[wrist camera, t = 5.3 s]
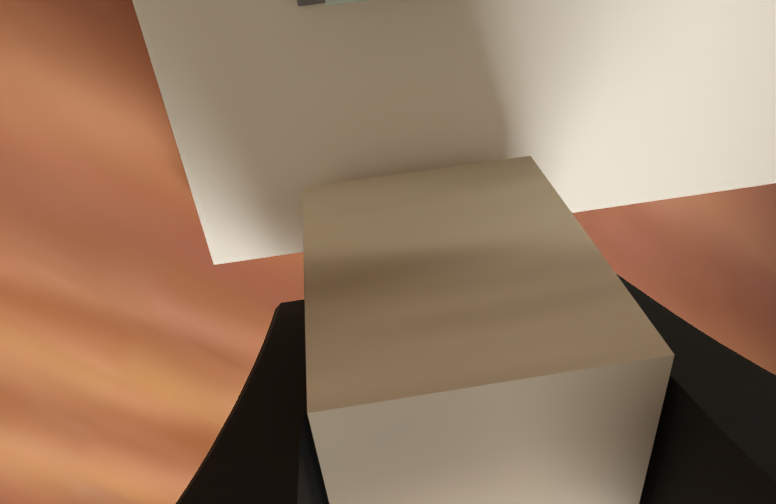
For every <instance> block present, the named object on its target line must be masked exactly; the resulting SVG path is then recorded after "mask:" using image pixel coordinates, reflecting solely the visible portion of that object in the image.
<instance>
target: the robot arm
mask: <svg viewBox="0 0 776 504" xmlns="http://www.w3.org/2000/svg"><path fill="white" fill-rule="evenodd" d="M616 275H617V274H616ZM617 276H618V277H619V279H620V280H621V281H622V283H623V284H624V286H625V287H626V288H627V290H628V291H629V293H630V294H631V295H632V297H633V298H634V299H635V301H636V302H637V304H638V305H639V306H640V308H641V309H642V310H643V312H644V313H645V315H646V316H647V317H648V319H649V320H650V322H651V323H652V324H653V326H654V327H655V328H656V330H657V331H658V333H659V334H660V335H661V337H662V338H663V340H664V341H665V342H666V344H667V345H668V346H669V348H670V349H671V351H672V352H673V353H674V359H673V364H672V368H671V372H670V376H669V380H668V385H667V389H666V393H665V397H664V401H663V406H662V410H661V414H660V418H659V422H658V426H657V431H656V435H655V439H654V443H653V447H652V452H651V456H650V460H649V464H648V468H647V473H646V477H645V481H644V485H643V489H642V494H641V498H640V502H639V504H776V375H774V374H772V373H770V372H769V371H767V370H765V369H763V368H761V367H760V366H758V365H756V364H754V363H753V362H751V361H749V360H748V359H746V358H744V357H743V356H741V355H739V354H737V353H736V352H734V351H732V350H731V349H729V348H727V347H726V346H724V345H722V344H721V343H719V342H717V341H716V340H714V339H713V338H711V337H709V336H708V335H706V334H705V333H703V332H701V331H700V330H698V329H697V328H695V327H694V326H692V325H691V324H689V323H687V322H686V321H684V320H683V319H681V318H680V317H678V316H677V315H675V314H674V313H672V312H671V311H669V310H668V309H666V308H665V307H663V306H662V305H660V304H659V303H658V302H656V301H655V300H653V299H652V298H650V297H649V296H647V295H646V294H645V293H643V292H642V291H640V290H639V289H637V288H636V287H634V286H633V285H632V284H630V283H629V282H627V281H626V280H624V279H623V278H622V277H620V276H619V275H617ZM176 504H329V500H328V496H327V492H326V488H325V484H324V480H323V476H322V472H321V467H320V463H319V459H318V455H317V451H316V447H315V443H314V439H313V435H312V431H311V427H310V423H309V419H308V415H307V384H306V340H305V300H298V301H291V302H285V303H280V305H279V306H278V307H277V308H276V309H275V312H274V315H273V318H272V321H271V324H270V327H269V330H268V332H267V335H266V338H265V340H264V343H263V345H262V347H261V350H260V352H259V354H258V357H257V359H256V361H255V364H254V366H253V368H252V370H251V372H250V374H249V376H248V379H247V381H246V383H245V385H244V387H243V389H242V391H241V393H240V395H239V397H238V400H237V401H236V403H235V405H234V407H233V409H232V411H231V413H230V415H229V416H228V418H227V420H226V422H225V424H224V426H223V427H222V429H221V431H220V433H219V435H218V436H217V438H216V440H215V442H214V444H213V445H212V447H211V449H210V451H209V452H208V454H207V456H206V457H205V459H204V461H203V462H202V464H201V466H200V467H199V469H198V470H197V472H196V474H195V475H194V477H193V478H192V480H191V481H190V483H189V485H188V486H187V488H186V489H185V491H184V492H183V494H182V495H181V497H180V498H179V500H178V501H177V503H176Z"/></svg>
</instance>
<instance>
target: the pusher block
mask: <svg viewBox="0 0 776 504" xmlns="http://www.w3.org/2000/svg"><path fill="white" fill-rule="evenodd" d="M302 209H303V253H304V296H305V340H306V384H307V415H308V419H309V423H310V427H311V431H312V435H313V439H314V443H315V447H316V451H317V455H318V459H319V463H320V467H321V472H322V476H323V480H324V484H325V488H326V492H327V496H328V500H329V504H639V502H640V498H641V494H642V489H643V485H644V481H645V477H646V473H647V468H648V464H649V460H650V456H651V452H652V447H653V443H654V439H655V435H656V431H657V426H658V422H659V418H660V414H661V410H662V406H663V401H664V397H665V393H666V389H667V385H668V380H669V376H670V372H671V368H672V364H673V359H674V353H673V352H672V351H671V349H670V348H669V346H668V345H667V344H666V342H665V341H664V340H663V338H662V337H661V335H660V334H659V333H658V331H657V330H656V328H655V327H654V326H653V324H652V323H651V322H650V320H649V319H648V317H647V316H646V315H645V313H644V312H643V310H642V309H641V308H640V306H639V305H638V304H637V302H636V301H635V299H634V298H633V297H632V295H631V294H630V293H629V291H628V290H627V288H626V287H625V286H624V284H623V283H622V281H621V280H620V279H619V277H618V276H617V275H616V273H615V272H614V270H613V269H612V268H611V266H610V265H609V263H608V262H607V261H606V259H605V258H604V257H603V255H602V254H601V252H600V251H599V250H598V248H597V247H596V246H595V244H594V243H593V241H592V240H591V239H590V237H589V236H588V234H587V233H586V232H585V230H584V229H583V228H582V226H581V225H580V223H579V222H578V221H577V219H576V218H575V217H574V215H573V214H572V212H571V211H570V210H569V208H568V207H567V205H566V204H565V203H564V201H563V200H562V199H561V197H560V196H559V194H558V193H557V192H556V190H555V189H554V187H553V186H552V185H551V183H550V182H549V181H548V179H547V178H546V176H545V175H544V174H543V172H542V171H541V170H540V168H539V167H538V165H537V164H536V163H535V161H534V160H533V158H532V157H531V156H525V157H517V158H510V159H503V160H496V161H489V162H482V163H475V164H468V165H460V166H453V167H446V168H439V169H432V170H425V171H418V172H410V173H403V174H396V175H389V176H382V177H375V178H368V179H361V180H353V181H346V182H339V183H332V184H325V185H318V186H311V187H304V188H302Z"/></svg>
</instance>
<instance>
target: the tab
mask: <svg viewBox="0 0 776 504" xmlns="http://www.w3.org/2000/svg"><path fill="white" fill-rule="evenodd" d="M361 1H369V0H325V2H326V6H329V5H337V4H345V3H353V2H361Z"/></svg>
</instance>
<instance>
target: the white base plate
mask: <svg viewBox="0 0 776 504" xmlns="http://www.w3.org/2000/svg"><path fill="white" fill-rule="evenodd" d="M132 1H133V5H134V8H135V11H136V14H137V18H138V21H139V24H140V27H141V30H142V34H143V37H144V40H145V43H146V47H147V50H148V53H149V56H150V60H151V63H152V66H153V69H154V72H155V76H156V79H157V82H158V85H159V89H160V92H161V95H162V98H163V102H164V105H165V108H166V111H167V114H168V118H169V121H170V124H171V127H172V131H173V134H174V137H175V140H176V144H177V147H178V150H179V153H180V156H181V160H182V163H183V166H184V169H185V173H186V176H187V179H188V182H189V185H190V189H191V192H192V195H193V198H194V202H195V205H196V208H197V211H198V215H199V218H200V221H201V224H202V227H203V231H204V234H205V237H206V240H207V244H208V247H209V250H210V253H211V257H212V260H213V263H214V265H216V264H223V263H229V262H236V261H243V260H250V259H257V258H264V257H271V256H278V255H285V254H291V253H298V252H303V209H302V188H304V187H311V186H318V185H325V184H332V183H339V182H346V181H353V180H361V179H368V178H375V177H382V176H389V175H396V174H403V173H410V172H418V171H425V170H432V169H439V168H446V167H453V166H460V165H468V164H475V163H482V162H489V161H496V160H503V159H510V158H517V157H525V156H531V157H532V158H533V160H534V161H535V163H536V164H537V165H538V167H539V168H540V170H541V171H542V172H543V174H544V175H545V176H546V178H547V179H548V181H549V182H550V183H551V185H552V186H553V187H554V189H555V190H556V192H557V193H558V194H559V196H560V197H561V199H562V200H563V201H564V203H565V204H566V205H567V207H568V208H569V210H570V211H571V212H572V213H574V212H581V211H588V210H594V209H601V208H608V207H615V206H622V205H629V204H636V203H643V202H650V201H656V200H663V199H670V198H677V197H684V196H691V195H698V194H705V193H712V192H718V191H725V190H732V189H739V188H746V187H753V186H760V185H767V184H773V183H776V0H369V1H361V2H353V3H345V4H337V5H329V6H326V2H325V0H132Z"/></svg>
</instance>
